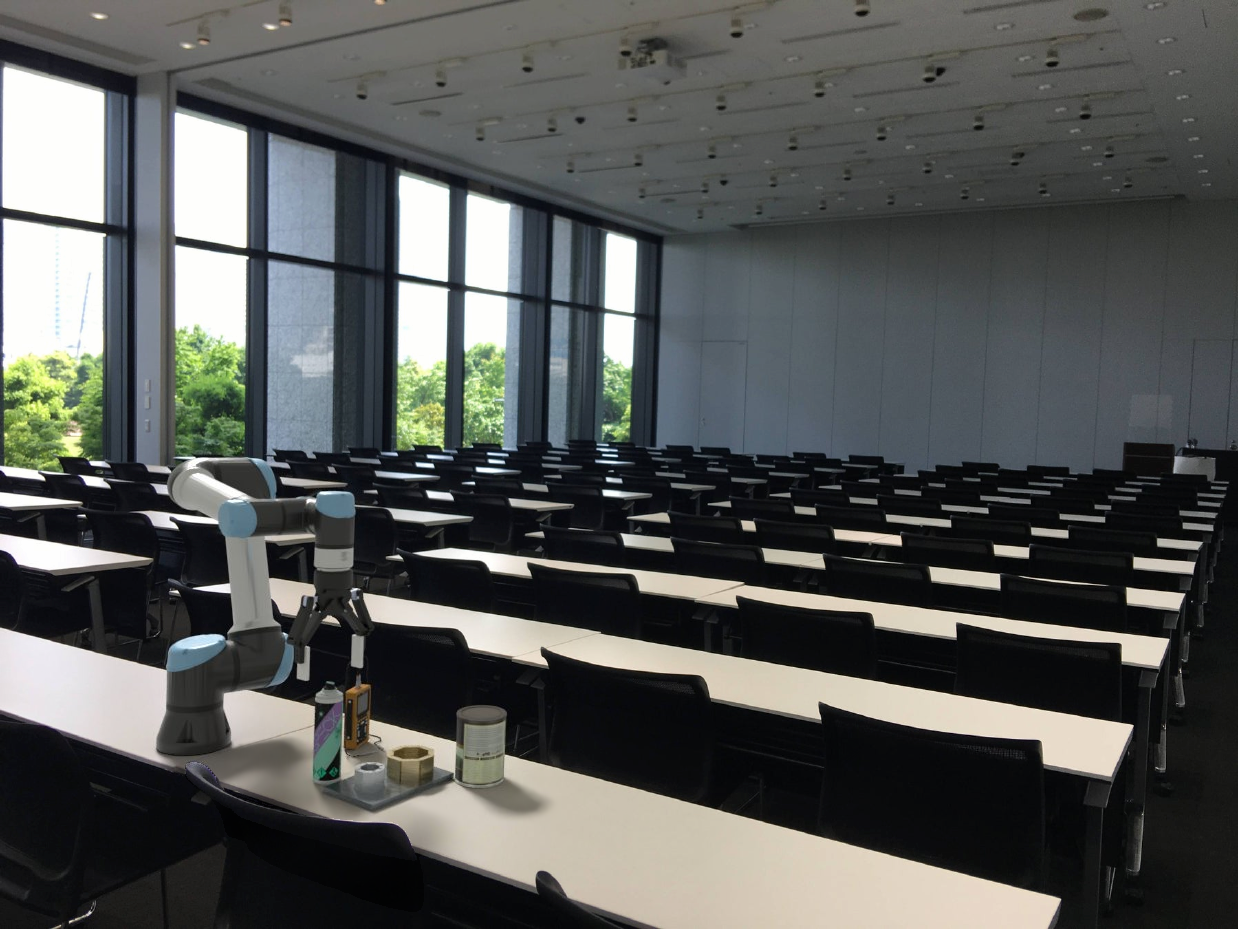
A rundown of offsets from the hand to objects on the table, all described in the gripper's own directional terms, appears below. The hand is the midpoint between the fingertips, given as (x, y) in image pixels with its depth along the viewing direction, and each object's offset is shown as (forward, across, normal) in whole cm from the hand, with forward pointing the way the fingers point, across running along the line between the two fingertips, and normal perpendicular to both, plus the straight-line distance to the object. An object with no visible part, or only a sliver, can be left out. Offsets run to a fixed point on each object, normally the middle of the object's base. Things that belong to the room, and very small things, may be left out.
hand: (330, 673), depth 196 cm
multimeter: (+22, +19, +8) cm, 30 cm away
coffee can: (+22, +20, -23) cm, 38 cm away
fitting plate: (+22, +6, -12) cm, 26 cm away
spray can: (+22, 0, 0) cm, 22 cm away
